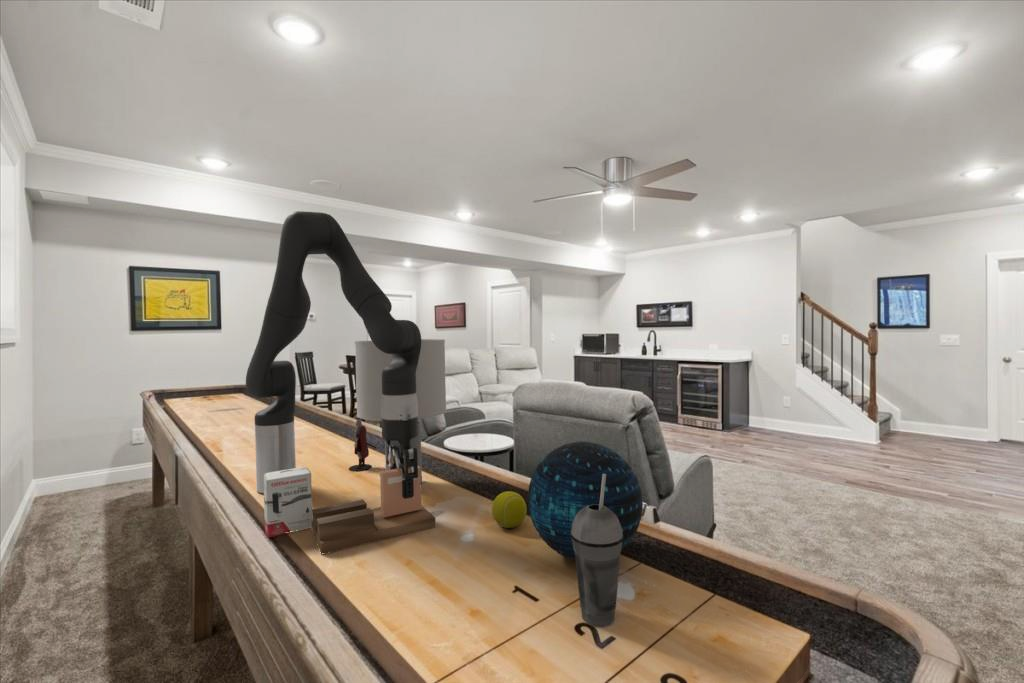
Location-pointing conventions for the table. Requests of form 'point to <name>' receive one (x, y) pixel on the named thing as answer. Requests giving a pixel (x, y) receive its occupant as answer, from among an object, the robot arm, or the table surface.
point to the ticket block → (362, 525)
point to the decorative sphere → (581, 492)
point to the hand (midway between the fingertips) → (401, 491)
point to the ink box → (287, 501)
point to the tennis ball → (509, 509)
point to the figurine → (361, 447)
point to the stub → (398, 493)
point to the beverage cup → (597, 560)
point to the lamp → (427, 383)
